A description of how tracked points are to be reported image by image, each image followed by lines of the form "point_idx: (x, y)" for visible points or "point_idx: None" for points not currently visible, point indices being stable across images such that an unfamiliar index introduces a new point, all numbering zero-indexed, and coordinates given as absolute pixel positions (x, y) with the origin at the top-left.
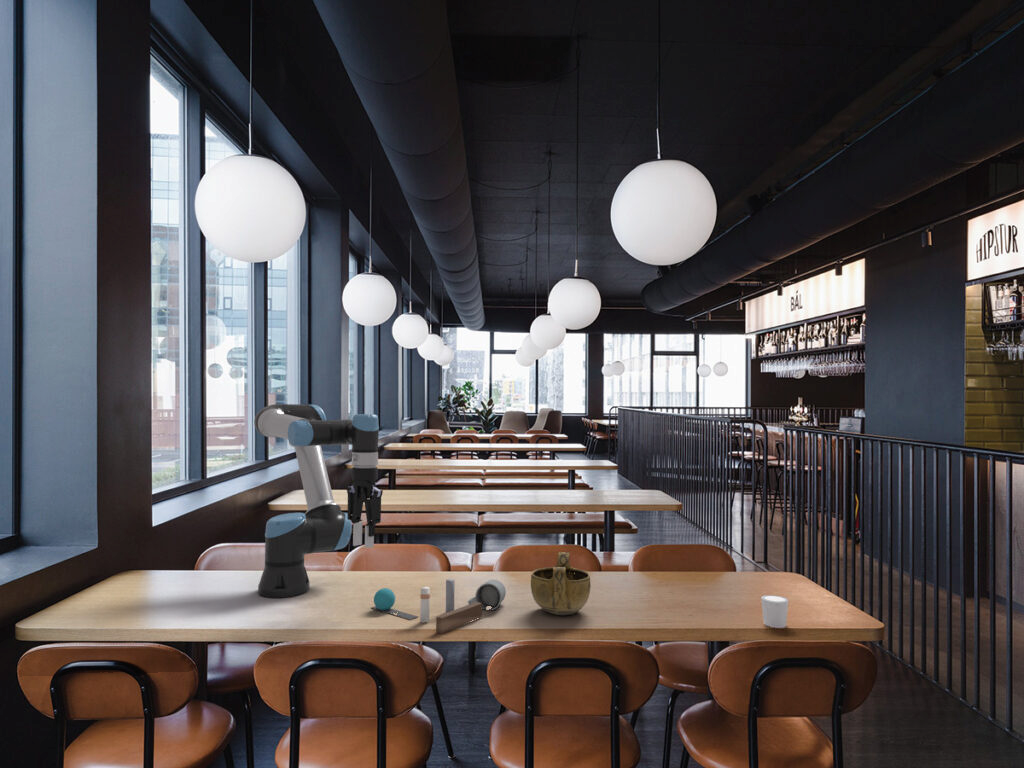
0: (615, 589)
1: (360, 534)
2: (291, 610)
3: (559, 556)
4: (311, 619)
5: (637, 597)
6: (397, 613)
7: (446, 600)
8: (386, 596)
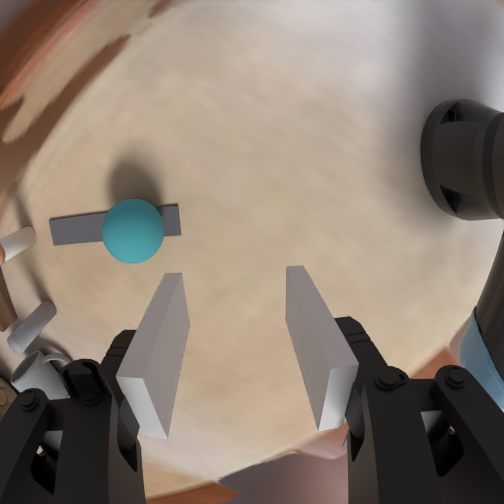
0: None
1: (298, 348)
2: (331, 56)
3: None
4: (223, 44)
5: None
6: (94, 225)
7: (34, 313)
8: (103, 222)
